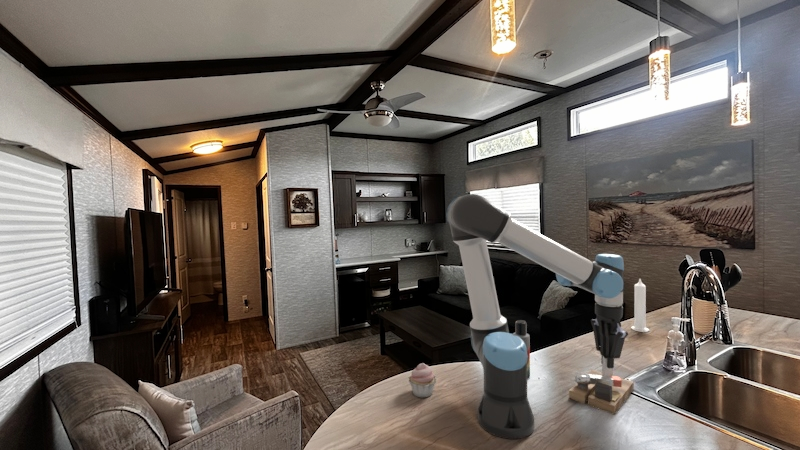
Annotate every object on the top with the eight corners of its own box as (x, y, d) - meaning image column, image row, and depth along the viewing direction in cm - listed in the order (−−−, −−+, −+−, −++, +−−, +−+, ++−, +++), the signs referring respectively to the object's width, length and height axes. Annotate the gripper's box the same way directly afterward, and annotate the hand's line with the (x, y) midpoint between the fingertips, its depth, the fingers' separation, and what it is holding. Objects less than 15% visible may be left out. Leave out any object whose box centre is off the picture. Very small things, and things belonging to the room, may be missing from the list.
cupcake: (424, 404, 106) (424, 372, 106) (402, 393, 113) (402, 363, 113) (443, 392, 113) (442, 362, 113) (421, 383, 120) (420, 354, 119)
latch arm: (576, 384, 108) (576, 377, 108) (573, 377, 112) (573, 371, 112) (622, 388, 105) (622, 381, 105) (617, 381, 109) (617, 375, 109)
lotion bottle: (531, 380, 120) (530, 323, 119) (514, 379, 121) (513, 323, 120) (528, 373, 125) (528, 318, 125) (512, 372, 126) (511, 318, 126)
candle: (634, 326, 172) (634, 276, 172) (650, 329, 167) (651, 278, 166) (629, 329, 168) (629, 278, 167) (646, 333, 162) (646, 280, 162)
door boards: (614, 414, 99) (614, 392, 99) (569, 398, 108) (569, 377, 108) (633, 389, 112) (633, 369, 112) (591, 376, 122) (591, 358, 121)
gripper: (636, 308, 103) (634, 385, 104) (603, 297, 115) (602, 366, 117) (614, 310, 102) (612, 388, 103) (583, 298, 114) (582, 368, 116)
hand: (607, 376), depth 110 cm, fingers closed
